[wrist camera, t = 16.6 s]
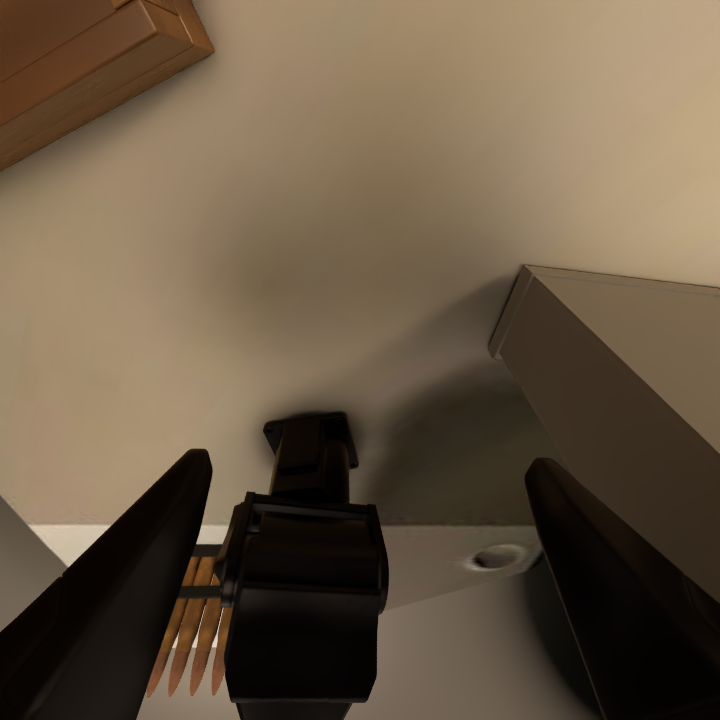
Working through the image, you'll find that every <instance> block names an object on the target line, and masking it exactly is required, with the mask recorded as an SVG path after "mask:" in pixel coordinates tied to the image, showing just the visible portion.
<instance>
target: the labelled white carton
mask: <svg viewBox="0 0 720 720" xmlns="http://www.w3.org/2000/svg"><path fill="white" fill-rule="evenodd" d="M488 351H489V353H490V354H491V356H492V358H493V359H495V360H504V361H505V363H506V364H507V366H508V368H509V369H510V371H511V373H512V374H513V376H514V378H515V379H516V381H517V383H518V384H519V386H520V388H521V389H522V391H523V393H524V394H525V396H526V398H527V400H528V401H529V403H530V405H531V406H532V408H533V410H534V411H535V413H536V415H537V416H538V418H539V420H540V421H541V423H542V425H543V426H544V428H545V430H546V431H547V433H548V435H549V436H550V438H551V440H552V441H553V443H554V445H555V446H556V448H557V450H558V451H559V453H560V455H561V456H562V458H563V460H564V461H565V463H566V465H567V466H568V468H569V470H570V471H571V473H572V475H573V476H574V478H575V479H576V480H577V481H579V482H580V483H581V484H582V485H583V486H584V487H586V488H587V489H588V490H589V491H590V492H591V493H592V494H594V495H595V496H596V497H597V498H598V499H599V500H600V501H602V502H603V503H604V504H605V505H606V506H607V507H609V508H610V509H611V510H612V511H613V512H614V513H615V514H617V515H618V516H619V517H620V518H621V519H622V520H624V521H625V522H626V523H627V524H628V525H629V526H630V527H632V528H633V529H634V530H635V531H636V532H637V533H639V534H640V535H641V536H642V537H643V538H644V539H645V540H647V541H648V542H649V543H650V544H651V545H652V546H654V547H655V548H656V549H657V550H658V551H659V552H660V553H662V554H663V555H664V556H665V557H666V558H667V559H669V560H670V561H671V562H672V563H673V564H674V565H675V566H677V567H678V568H679V569H680V570H681V571H682V572H683V573H684V575H687V576H688V577H689V578H691V579H692V580H693V581H694V582H695V583H696V584H697V585H699V586H700V587H701V588H702V589H703V590H704V591H706V592H707V593H708V594H709V595H710V596H712V597H713V598H714V599H715V600H716V601H717V602H719V603H720V289H719V288H711V287H702V286H694V285H686V284H677V283H669V282H661V281H652V280H644V279H636V278H627V277H619V276H611V275H603V274H594V273H586V272H578V271H569V270H561V269H553V268H544V267H536V266H528V265H524V266H523V268H522V271H521V273H520V275H519V278H518V280H517V282H516V285H515V287H514V289H513V292H512V294H511V296H510V299H509V301H508V303H507V305H506V308H505V310H504V312H503V315H502V317H501V319H500V322H499V324H498V326H497V329H496V331H495V333H494V336H493V338H492V340H491V343H490V345H489V347H488Z"/></svg>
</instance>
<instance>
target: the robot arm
mask: <svg viewBox="0 0 720 720" xmlns="http://www.w3.org/2000/svg"><path fill="white" fill-rule="evenodd" d="M339 419H341V420H339ZM263 432H264V434H265V436H266V438H267V440H268V442H269V444H270V446H271V448H272V450H273V452H274V454H275V462H274V467H273V473H272V478H271V483H270V489H269V494H268V495H263V494H255V492H248V491H247V493H246V497H245V500H244V502H241V504H239V505H236V506H234V510H233V514H232V518H231V522H230V525H229V529H228V532H227V535H226V537H225V540H224V542H223V545H222V547H221V550H220V552H219V555H218V557H217V560H216V563H215V567H214V574H215V575H216V577H217V579H218V580H219V582H220V589H219V591H221V592H222V593H221V600H220V607H225V608H231V607H233V610H232V615H231V620H230V625H229V630H228V636H227V641H226V646H225V651H224V665H225V669H226V670H225V678H226V682H227V687H228V691H229V697H230V700H231V702H232V703H236V706H237V709H238V713H239V716H240V719H241V720H344V718H345V716H346V714H347V712H348V710H349V709H350V707H351V705H352V703H365V702H366V701H367V700H368V698H369V695H370V693H371V690H372V687H373V685H374V682H375V680H376V676H377V627H378V615H380V614H381V613H382V612H383V610H384V608H385V605H386V600H387V595H388V585H389V567H388V558H387V552H386V548H385V544H384V539H383V535H382V531H381V526H380V522H379V518H378V514H377V509H376V505H373V504H367V505H360V504H350V501H349V469H354V468H357V467H358V466H359V462H358V457H357V453H356V449H355V445H354V442H353V438H352V434H351V430H350V426H349V423H348V419H347V416H346V414H344V413H334V414H327V415H320V416H312V417H305V418H298V419H291V420H284V421H277V422H270V423H266V424H265V425H264V428H263ZM212 472H213V470H212V465H211V461H210V457H209V453H208V451H207V450H206V449H190V450H188V451H187V452H186V453H185V454H184V455H183V456H182V457H181V458H180V459H179V460H178V461H177V462H176V463H175V464H174V465H173V466H172V467H171V468H170V469H169V470H168V471H167V472H166V473H165V474H164V475H163V476H162V477H161V478H160V479H159V480H158V481H156V482H155V483H154V484H153V485H152V486H151V487H150V488H149V489H148V490H147V491H146V492H145V493H144V494H143V495H142V496H141V497H140V498H139V499H138V500H137V501H136V502H135V503H134V504H133V505H132V506H131V507H130V508H129V509H128V510H127V511H126V512H125V513H124V514H123V515H122V516H121V517H120V518H119V519H118V520H117V521H116V522H115V523H114V524H113V525H112V526H111V527H110V528H108V529H107V530H106V531H105V532H104V533H103V534H102V535H101V536H100V537H99V538H98V539H97V540H96V541H95V542H94V543H93V544H92V545H91V546H90V547H89V548H88V549H87V550H86V551H85V552H84V553H83V554H82V555H81V556H80V557H79V558H78V559H77V560H76V561H75V562H74V563H73V564H72V565H71V566H70V567H69V568H68V569H67V570H66V571H65V572H64V573H63V574H62V577H58V578H57V579H56V580H55V581H54V582H53V583H52V584H51V585H50V586H49V587H48V588H47V589H46V590H45V591H44V592H43V593H42V594H41V595H40V596H39V597H38V598H37V599H36V600H35V601H33V603H31V604H30V605H29V606H28V607H27V608H26V609H25V610H24V611H23V612H22V613H21V614H20V615H19V616H18V617H17V618H15V619H14V620H13V621H12V622H11V623H10V624H9V625H8V626H7V627H6V628H4V629H3V630H2V631H1V632H0V720H136V718H137V715H138V712H139V709H140V706H141V703H142V701H143V698H144V695H145V692H146V689H147V686H148V683H149V680H150V677H151V674H152V671H153V668H154V665H155V662H156V660H157V657H158V654H159V651H160V648H161V645H162V642H163V639H164V636H165V633H166V630H167V627H168V624H169V621H170V618H171V615H172V613H173V610H174V607H175V604H176V601H177V598H178V595H179V592H180V589H181V586H182V583H183V580H184V577H185V574H186V571H187V569H188V566H189V563H190V560H191V557H192V554H193V551H194V548H195V545H196V542H197V539H198V536H199V532H200V528H201V524H202V519H203V515H204V510H205V506H206V501H207V497H208V492H209V488H210V483H211V479H212ZM525 486H526V490H527V494H528V498H529V501H530V505H531V509H532V513H533V517H534V521H535V525H536V529H537V533H538V536H539V539H540V542H541V545H542V548H543V550H544V553H545V556H546V559H547V562H548V564H549V567H550V570H551V573H552V575H553V578H554V581H555V584H556V586H557V589H558V592H559V595H560V598H561V600H562V603H563V606H564V608H565V611H566V614H567V617H568V620H569V622H570V625H571V628H572V631H573V633H574V636H575V639H576V642H577V645H578V647H579V650H580V653H581V655H582V658H583V661H584V664H585V667H586V669H587V672H588V675H589V678H590V681H591V683H592V686H593V689H594V691H595V694H596V697H597V700H598V702H599V705H600V708H601V711H602V714H603V717H604V719H605V720H720V603H719V602H717V601H716V600H715V599H714V598H713V597H712V596H710V595H709V594H708V593H707V592H706V591H704V590H703V589H702V588H701V587H700V586H699V585H697V584H696V583H695V582H694V581H693V580H692V579H691V578H689V577H688V576H687V575H684V573H683V572H682V571H681V570H680V569H679V568H678V567H677V566H675V565H674V564H673V563H672V562H671V561H670V560H669V559H667V558H666V557H665V556H664V555H663V554H662V553H660V552H659V551H658V550H657V549H656V548H655V547H654V546H652V545H651V544H650V543H649V542H648V541H647V540H645V539H644V538H643V537H642V536H641V535H640V534H639V533H637V532H636V531H635V530H634V529H633V528H632V527H630V526H629V525H628V524H627V523H626V522H625V521H624V520H622V519H621V518H620V517H619V516H618V515H617V514H615V513H614V512H613V511H612V510H611V509H610V508H609V507H607V506H606V505H605V504H604V503H603V502H602V501H600V500H599V499H598V498H597V497H596V496H595V495H594V494H592V493H591V492H590V491H589V490H588V489H587V488H586V487H584V486H583V485H582V484H581V483H580V482H579V481H577V480H576V479H575V478H574V477H573V476H572V475H571V474H569V473H568V472H567V471H566V470H565V469H564V468H562V467H561V466H560V465H559V464H558V463H557V462H556V461H554V460H553V459H551V458H536V459H535V460H534V461H533V462H532V464H531V466H530V467H529V469H528V471H527V472H526V474H525Z"/></svg>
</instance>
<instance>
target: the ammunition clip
mask: <svg viewBox="0 0 720 720" xmlns="http://www.w3.org/2000/svg"><path fill="white" fill-rule="evenodd" d="M221 547H222V545H195V548H194V551H193V554H192V557H191V560H190V563H189V566H188V569H187V571H186V574H185V577H184V580H183V583H182V586H181V589H180V592H179V595H178V598H177V601H176V604H175V607H174V610H173V613H172V615H171V618H170V621H169V624H168V627H167V630H166V633H165V636H164V639H163V642H162V645H161V648H160V651H159V654H158V657H157V660H156V662H155V665H154V668H153V671H152V674H151V677H150V680H149V683H148V686H147V697H150V696H151V694H152V693H153V691H154V690H155V688H156V686H157V684H158V682H159V680H160V678H161V676H162V673H163V671H164V668H165V666H166V663H167V660H168V657H169V654H170V652H171V649H172V646H173V643H174V641H175V639H176V637H177V635H178V632H179V636H178V643H177V647H176V651H175V656H174V659H173V663H172V667H171V671H170V677H169V685H168V695H169V697H170V696H172V695H173V693H174V691H175V690H176V688H177V686H178V684H179V682H180V679H181V677H182V675H183V672H184V669H185V666H186V663H187V660H188V656H189V653H190V651H191V648H192V644H193V642H194V640H195V637H196V635H197V632H198V629H199V625H200V622H201V625H200V629H199V635H198V643H197V648H196V654H195V657H194V662H193V666H192V672H191V680H190V694H191V696H193V695H194V693H195V692H196V690H197V688H198V686H199V684H200V682H201V679H202V677H203V674H204V671H205V668H206V665H207V661H208V656H209V653H210V650H211V647H212V643H213V641H214V638H215V636H216V633H217V629H218V625H219V621H220V617H221V613H222V609H223V607H220V600H221V593H222V592H221V591H219V589H220V582H219V580H218V579H217V577H216V575H215V574H214V567H215V563H216V560H217V557H218V555H219V552H220V550H221ZM213 574H214V576H213ZM212 578H213V580H212ZM211 582H212V584H211ZM210 585H211V586H210ZM205 605H206V606H205ZM204 607H205V610H204ZM185 610H186V611H185ZM232 610H233V607H231V608H225V607H224V609H223V613H222V618H221V622H220V627H219V632H218V643H217V648H216V655H215V659H214V665H213V672H212V695H215V694H216V692H217V690H218V688H219V686H220V684H221V681H222V679H223V676H224V673H225V665H224V651H225V646H226V641H227V636H228V630H229V625H230V620H231V615H232ZM203 611H204V614H203ZM184 613H185V614H184ZM202 614H203V618H202ZM183 616H184V617H183ZM201 618H202V621H201ZM182 620H183V621H182ZM181 623H182V624H181ZM180 626H181V627H180ZM179 629H180V631H179Z"/></svg>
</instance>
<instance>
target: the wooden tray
mask: <svg viewBox="0 0 720 720" xmlns="http://www.w3.org/2000/svg"><path fill="white" fill-rule="evenodd" d="M212 53H214V48H213V46H212V44H211V42H210V40H209V38H208V36H207V34H206V32H205V30H204V27H203V25H202V23H201V21H200V19H199V17H198V15H197V13H196V11H195V9H194V7H193V5H192V2H191V0H0V171H1V170H3V169H5V168H7V167H8V166H10V165H12V164H14V163H16V162H17V161H19V160H21V159H23V158H25V157H26V156H28V155H30V154H32V153H34V152H35V151H37V150H39V149H41V148H43V147H44V146H46V145H48V144H50V143H52V142H53V141H55V140H57V139H59V138H61V137H62V136H64V135H66V134H68V133H70V132H72V131H73V130H75V129H77V128H79V127H81V126H82V125H84V124H86V123H88V122H90V121H91V120H93V119H95V118H97V117H99V116H100V115H102V114H104V113H106V112H108V111H109V110H111V109H113V108H115V107H117V106H118V105H120V104H122V103H124V102H126V101H127V100H129V99H131V98H133V97H135V96H136V95H138V94H140V93H142V92H144V91H145V90H147V89H149V88H151V87H153V86H155V85H156V84H158V83H160V82H162V81H164V80H165V79H167V78H169V77H171V76H173V75H174V74H176V73H178V72H180V71H182V70H183V69H185V68H187V67H189V66H191V65H192V64H194V63H196V62H198V61H200V60H201V59H203V58H205V57H207V56H209V55H210V54H212Z"/></svg>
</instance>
